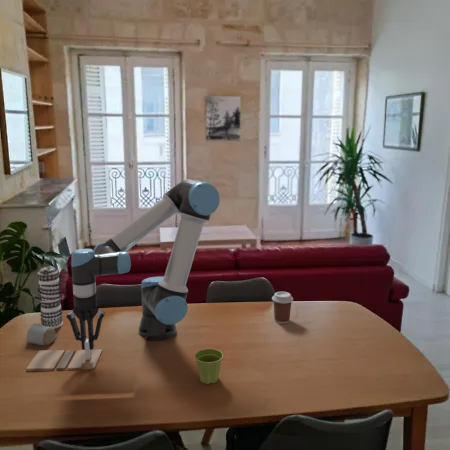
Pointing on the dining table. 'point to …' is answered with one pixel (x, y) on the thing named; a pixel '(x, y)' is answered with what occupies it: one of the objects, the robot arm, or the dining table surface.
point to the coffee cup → (282, 306)
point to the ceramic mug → (41, 334)
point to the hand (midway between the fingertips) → (88, 357)
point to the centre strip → (65, 360)
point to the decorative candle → (50, 297)
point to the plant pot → (209, 364)
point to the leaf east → (45, 360)
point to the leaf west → (81, 363)
